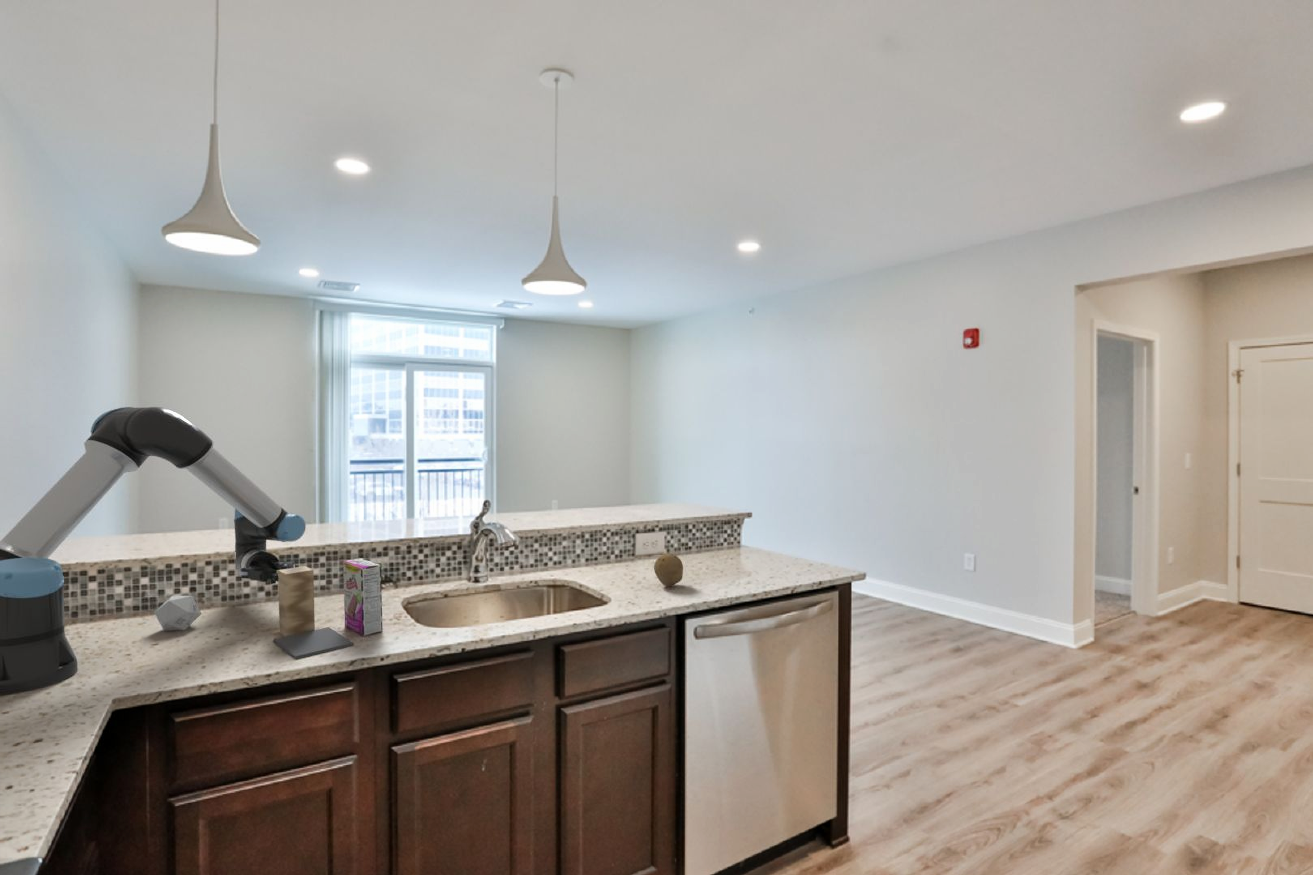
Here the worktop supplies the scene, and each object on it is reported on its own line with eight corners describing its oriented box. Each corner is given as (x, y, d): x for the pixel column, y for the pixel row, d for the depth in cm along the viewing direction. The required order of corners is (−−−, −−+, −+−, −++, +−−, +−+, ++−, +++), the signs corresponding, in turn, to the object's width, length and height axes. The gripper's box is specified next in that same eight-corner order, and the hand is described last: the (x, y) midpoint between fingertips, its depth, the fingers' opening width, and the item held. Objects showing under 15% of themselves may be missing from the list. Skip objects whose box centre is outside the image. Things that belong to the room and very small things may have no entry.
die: (165, 639, 155) (194, 603, 158) (138, 619, 157) (168, 584, 159) (188, 640, 163) (215, 606, 166) (162, 622, 164) (190, 588, 167)
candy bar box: (343, 627, 161) (341, 560, 161) (363, 622, 165) (362, 557, 164) (362, 637, 154) (361, 567, 153) (383, 631, 157) (382, 563, 157)
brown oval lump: (657, 581, 203) (657, 549, 203) (686, 582, 202) (685, 550, 201) (651, 589, 194) (651, 555, 194) (681, 590, 193) (681, 556, 192)
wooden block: (287, 637, 153) (285, 574, 153) (279, 632, 158) (278, 570, 157) (314, 631, 158) (313, 569, 157) (306, 626, 162) (305, 566, 161)
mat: (295, 659, 140) (295, 656, 140) (273, 641, 151) (273, 638, 151) (353, 645, 148) (353, 642, 148) (328, 629, 159) (328, 626, 159)
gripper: (287, 574, 184) (316, 589, 167) (233, 583, 175) (257, 599, 158) (286, 547, 184) (315, 560, 167) (232, 555, 174) (257, 568, 158)
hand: (287, 579), depth 162 cm, fingers closed
